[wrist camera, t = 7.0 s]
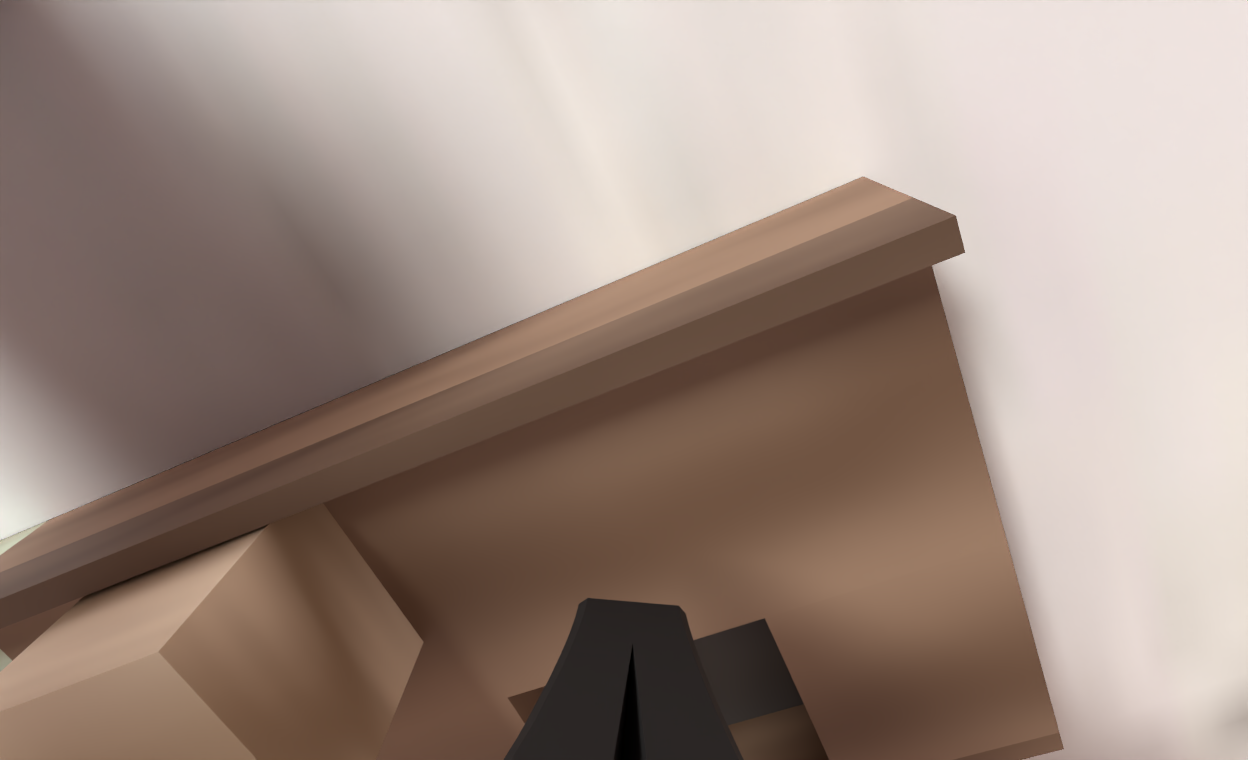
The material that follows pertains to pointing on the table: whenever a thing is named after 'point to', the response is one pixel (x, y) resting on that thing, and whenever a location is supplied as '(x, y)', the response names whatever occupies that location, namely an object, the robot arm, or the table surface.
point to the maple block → (220, 658)
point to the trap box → (654, 501)
